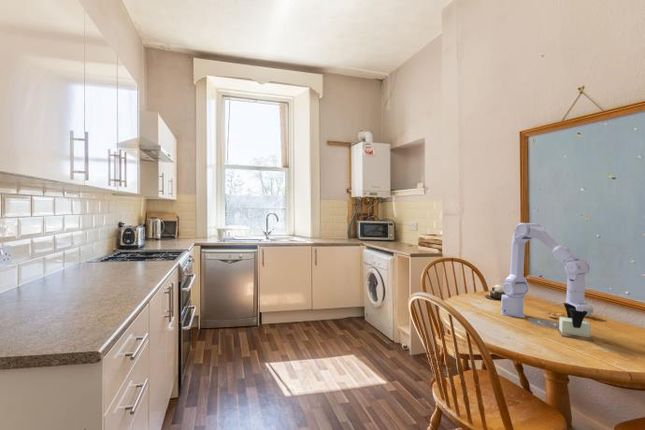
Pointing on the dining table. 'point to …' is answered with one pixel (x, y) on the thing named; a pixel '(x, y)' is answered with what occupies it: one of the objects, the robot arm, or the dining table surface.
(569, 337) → the walnut pad
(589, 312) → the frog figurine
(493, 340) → the dining table surface
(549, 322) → the grey tile
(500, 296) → the skull
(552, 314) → the figurine
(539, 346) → the dining table surface
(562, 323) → the sage block
